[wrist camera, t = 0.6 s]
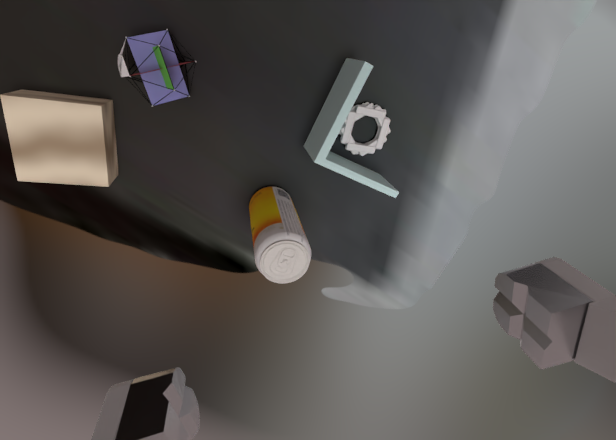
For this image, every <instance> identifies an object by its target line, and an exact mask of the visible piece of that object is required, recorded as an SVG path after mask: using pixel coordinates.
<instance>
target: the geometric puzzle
mask: <svg viewBox="0 0 616 440" xmlns="http://www.w3.org/2000/svg"><path fill="white" fill-rule="evenodd" d="M168 32H169V31H168V29H166V30H164V31H158V32H153V33H148V34H142V35H137V36H132V37H125V38H126V39H125V41H128V43H129V46H130V49H131V51H132V54H133V57H134V59H135V63H136V64H137V67H138V68H137V69H138V70H139V72H140V73H136V74H133V73H134V72H135V71H136V70H137V69H136V70H135V71H134V72H133V73H132V74H131V75H129V72H130V70H131V68H132V67H133V66H134V65H135V63H134V65H133V66H132V67H131V68H129V71H128V70H127V67H126V64H125V61H126V54H125V61H124V59H123V56H122V53H123V49H124V45H125V42H124V44H123V47H122V49H121V52H120V54H118V68H119V72H120V71H121V73H120V75H121V78H122V77H128V78H130V77H132V76H134V75H138V74H140V75H141V78H142V81H143V83H144V85H145V88H146V91H147V93H148V96H149V99H150V101H151V103H150V104H151V105H152V107H153V106H155V105H159V104H162V103H166V102H170V101H174V100H177V99H181V98H185V97H190V95H189V87H188V90H187V87H186V84H185V81H184V77H185V76H187V73H188V72H189V70H190V69H191V68H192V66H193V65H194V64H193V65H192V66H191V68H190V69H189V70H188V72H187V70H186V74H185V76H184V77H183V75H182V72H181V69H180V68H181V67H182V66H183V65H184V64H185V68H186V63H191V62H194V63H196V62H197V61H195V60H193V61H187V62H185V60H184V58H183V57H185V56H183V55H181V53H180V54H179V55H181V56H183V57H182V58H183V60H184V61H181V60H179V59H177V57H176V54H178V53H176V52H175V51H174V48H173V45H172V42H171V39H170V36H171V35H172V34H171V35H170V36H169V34H170V33H168ZM172 36H173V35H172ZM173 37H174V36H173ZM171 38H172V37H171ZM172 40H173V38H172ZM173 42H174V40H173ZM174 43H175V42H174ZM175 45H176V44H175ZM180 45H181V44H180ZM181 46H182V45H181ZM176 47H177V46H176ZM182 47H183V46H182ZM177 49H178V48H177ZM178 51H179V49H178ZM127 52H128V47H127ZM179 52H180V51H179ZM175 53H176V54H175ZM188 54H189V53H188ZM189 55H190V54H189ZM190 56H191V55H190ZM186 58H188V57H186ZM188 59H190V58H188ZM178 60H179V61H181V62H184V63H180V64H179V63H178ZM190 60H192V59H190ZM128 62H129V57H128ZM179 65H181V66H179ZM194 68H195V67H194ZM193 74H194V72H193ZM133 78H135V77H132V78H131V79H132V80H133ZM136 79H138V78H136ZM136 79H134V80H136ZM192 79H193V78H192ZM134 80H133V81H134ZM139 80H141V79H139ZM139 80H137V81H139ZM142 81H140V82H142ZM130 83H131V82H130ZM131 84H132V83H131ZM135 84H136V83H135ZM132 85H133V84H132ZM136 85H137V84H136ZM187 85H188V79H187ZM191 85H192V83H191ZM133 86H134V85H133ZM134 87H135V86H134ZM138 88H139V87H138ZM139 89H140V88H139ZM190 90H191V89H190ZM141 92H142V91H141ZM142 93H143V92H142ZM144 96H145V95H144ZM144 96H143V97H144ZM145 97H146V96H145ZM145 97H144V98H145ZM145 99H146V98H145ZM146 100H147V101H149V100H148V99H146Z"/></svg>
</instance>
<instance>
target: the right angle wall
mask: <svg viewBox="0 0 616 440" xmlns="http://www.w3.org/2000/svg"><path fill="white" fill-rule="evenodd" d="M372 68H373V66H372V65H371V64H369V63H367V62H366V61H361V60H356V59H350V58H346V60H345V62H344V64H343V66H342V68H341V70H340V72H339V74H338V76H337V78H336V80H335V82H334V84H333V87H332V89H331V91H330V93H329V95H328V97H327V99H326V101H325V103H324V105H323V107H322V109H321V111H320V113H319V115H318V117H317V119H316V121H315V123H314V126H313V128H312V130H311V132H310V134H309V136H308V138H307V140H306V142H305V144H304V148H305V149H306V151H307V152H308V154H309V155H310V157H311V158H312V160H313V161H314V162H315V163H317V164H319V165H321V166H324V167H326V168H328V169H331V170H333V171H335V172H337V173H340V174H342V175H344V176H346V177H349V178H351V179H353V180H356V181H358V182H360V183H362V184H365V185H367V186H369V187H371V188H374V189H376V190H378V191H381V192H383V193H385V194H387V195H390V196H392V197H394V198H396V197H397V195H398V193H399V192H398V191H397V190H396V189H395V188H394V187H393V186H392V185H391V184H390V183H389V182H388V181H387V180H385V179H384V178H383V177H382V176H381V175H380V174H379V173H376V172H374V171H372V170H370V169H368V168H366V167H363V166H361V165H359V164H357V163H355V162H353V161H350V160H348V159H346V158H344V157H342V156H340V155H337V154H335V153H333V152H331V151H330V149H331V147H332V145H333V143H334V141H335V139H336V138H337V136H338V134H340V135H341V137H340V140H341V143H343V144H345V149H346V150H348V151H351V153H352V154H353V155H354V154H360V155H361V156H364V155H365V154H367V153H371V154H374V152H375V149H382V146H383V143H384V142H386V141H387V138H386V136H387V134H389V133H390V132H391V130H390V128H389V124H390V119H389V118H388V117H386V110H385V109H381V107H380V106H378V105H373V103H371V104H369V102H366V103H362V104H361V105H356V106H353V105H354V103H355V101H356V99H357V97H358V95H359V93H360V91H361V89H362V87H363V85H364V83H365V81H366V80H367V78H368V76H369V74H370V72H371V70H372ZM365 115H366V116H371V117H373V118H375V120H376V122H377V125H378V130H377V134H376V136H375V137H374V139H373V140H371V141H369V142H366V143H364V144H362V143H357V142H355V141H354V139H353V137H352V135H351V132H352V129H353V125H354V122H355V121H356V120H358V119H360V118H361V117H363V116H365Z"/></svg>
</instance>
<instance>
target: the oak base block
mask: <svg viewBox="0 0 616 440" xmlns="http://www.w3.org/2000/svg"><path fill="white" fill-rule="evenodd" d="M0 96H1V101H2V106H3V111H4V116H5V121H6V126H7V131H8V136H9V141H10V146H11V151H12V156H13V160H14V165H15V170H16V175H17V180H18V181H27V182H43V183H59V184H74V185H90V186H106V187H109V186H110V184H111V183H112V182H113V181H114V179H115V178H116V177H117V176H118V161H117V148H116V136H115V123H114V110H113V100H110V99H101V98H92V97H83V96H75V95H66V94H57V93H48V92H40V91H31V90H22V89H21V90H17V91H13V92H10V93H6V94H2V95H0Z"/></svg>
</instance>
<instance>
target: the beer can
mask: <svg viewBox="0 0 616 440" xmlns="http://www.w3.org/2000/svg"><path fill="white" fill-rule="evenodd" d="M249 212H250V221H251V229H252V238H253V246H254V254H255V263H256V266H257V268H258V270H259V271H260V272H261V273H262V274H263V275H264V276H265V277H266V278H267V279H269V280H270V281H272V282H275V283H290V282H293V281H295V280H297V279H298V278H300V277H301V276H303V275H304V273H305V272H306V270H307V269H308V266H309V263H310V260H311V248H310V246H309V243H308V240H307V238H306V235H305V233H304V230H303V227H302V225H301V222H300V220H299V217H298V215H297V212H296V209H295V207H294V204H293V202H292V199H291V197H290V195H289V194H288V193H287V192H286V191H285V190H283V189H281V188H278V187H265V188H262V189H260V190H259V191H257V192H256V193H255V194H254V195H253V197H252V198H251V200H250V203H249Z"/></svg>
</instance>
